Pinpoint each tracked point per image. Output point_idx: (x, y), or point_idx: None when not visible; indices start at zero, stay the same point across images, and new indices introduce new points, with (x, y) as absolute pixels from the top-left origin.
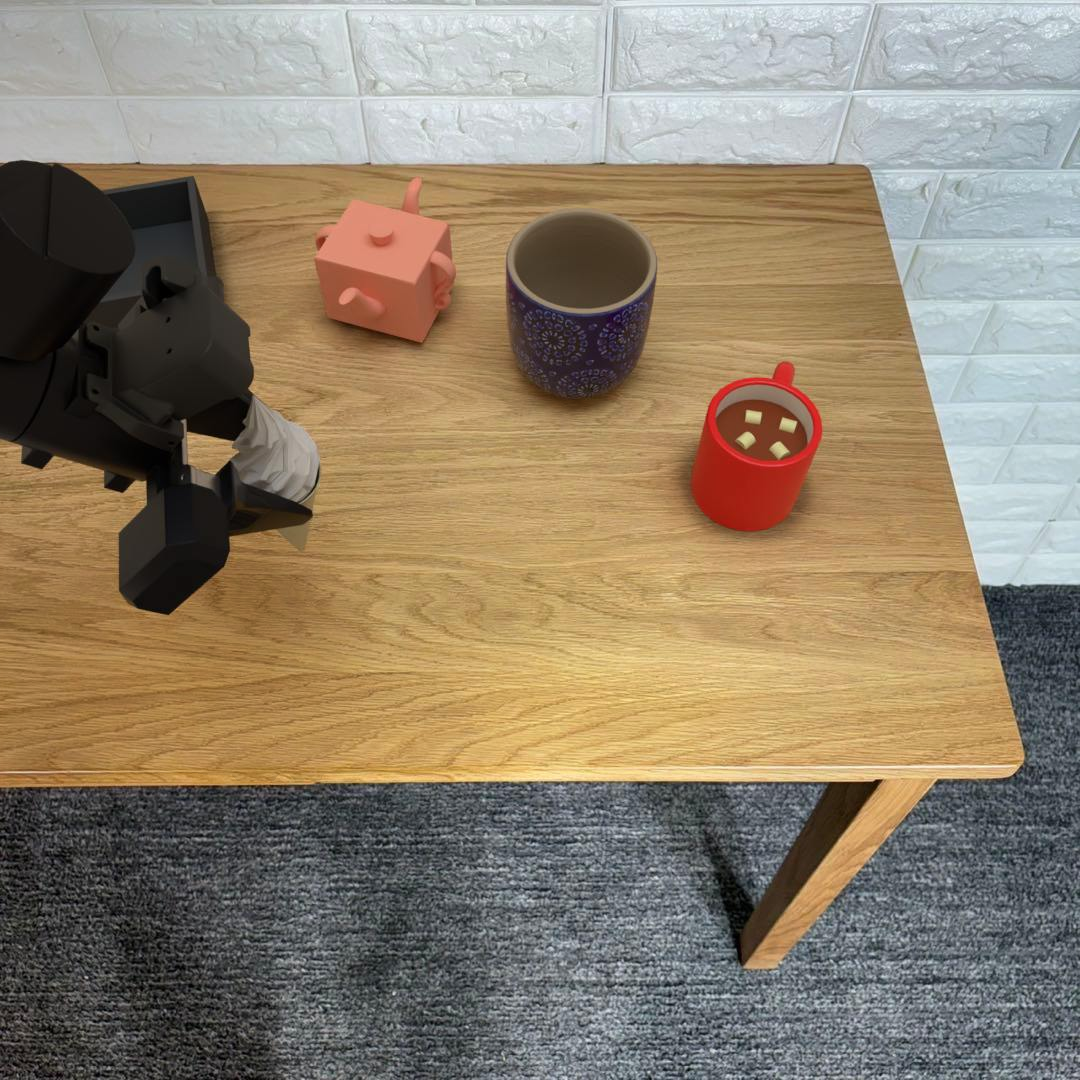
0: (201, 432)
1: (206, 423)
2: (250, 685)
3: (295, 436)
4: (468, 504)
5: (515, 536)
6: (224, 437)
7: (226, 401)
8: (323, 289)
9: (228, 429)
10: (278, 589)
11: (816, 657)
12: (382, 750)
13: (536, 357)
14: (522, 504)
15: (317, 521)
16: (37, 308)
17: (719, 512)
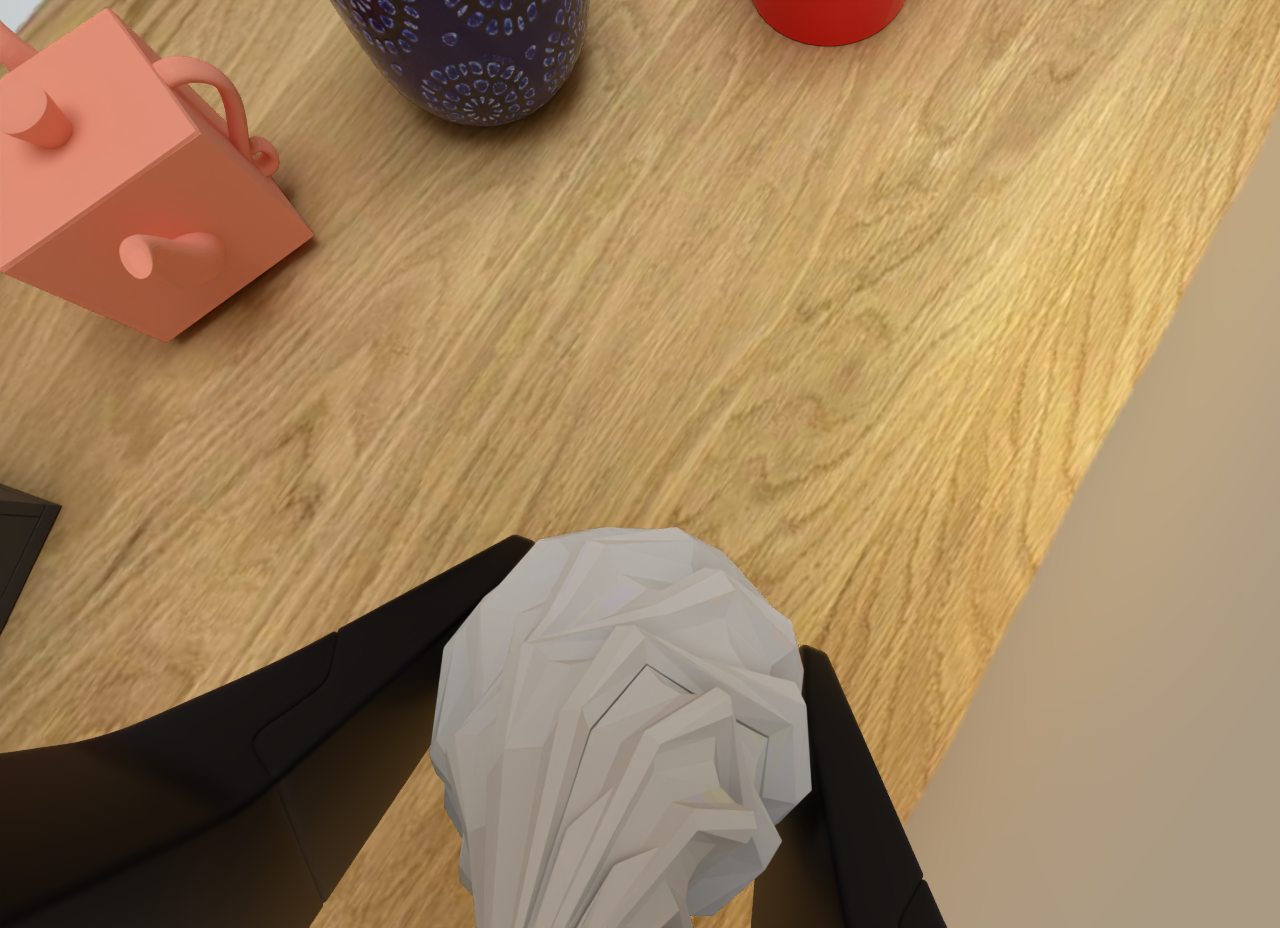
0: (314, 914)
1: (293, 908)
2: None
3: (659, 610)
4: (634, 326)
5: (727, 294)
6: (382, 810)
7: (252, 845)
8: (99, 309)
9: (369, 802)
10: None
11: (1128, 43)
12: (968, 657)
13: (493, 44)
14: (681, 256)
15: None
16: None
17: (871, 13)
